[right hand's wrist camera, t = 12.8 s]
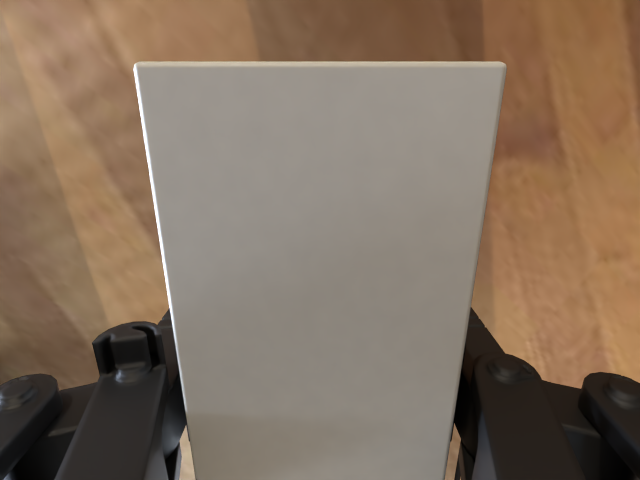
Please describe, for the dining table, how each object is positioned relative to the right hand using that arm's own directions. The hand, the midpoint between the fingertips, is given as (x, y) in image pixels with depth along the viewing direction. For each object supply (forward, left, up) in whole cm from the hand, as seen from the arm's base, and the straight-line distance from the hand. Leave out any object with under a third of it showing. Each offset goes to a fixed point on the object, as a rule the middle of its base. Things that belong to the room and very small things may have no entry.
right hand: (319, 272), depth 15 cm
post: (-3, -23, -1) cm, 24 cm away
